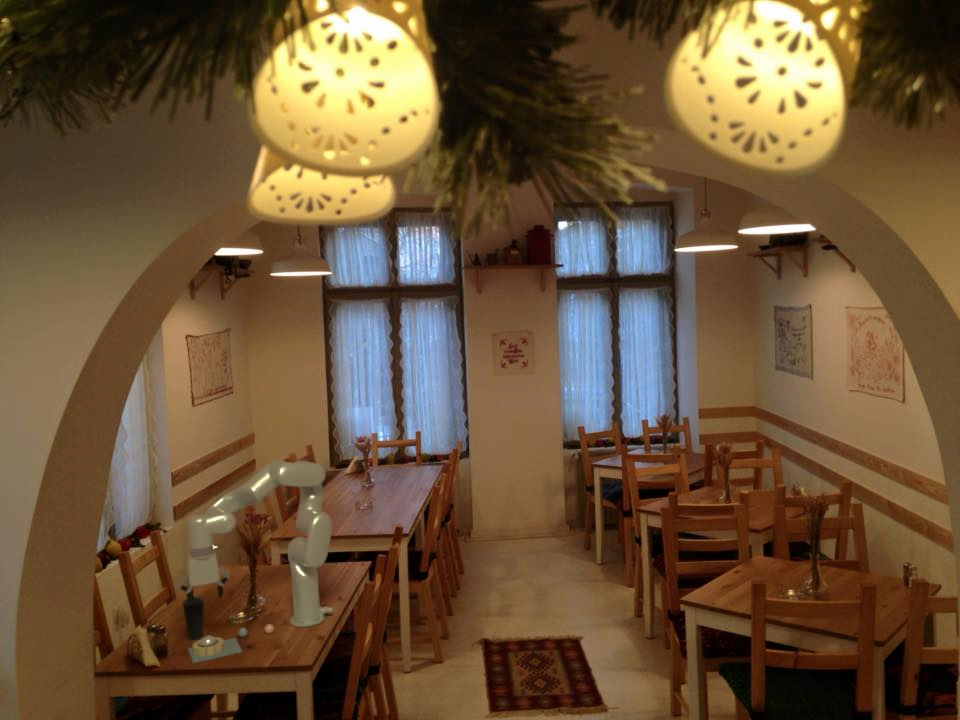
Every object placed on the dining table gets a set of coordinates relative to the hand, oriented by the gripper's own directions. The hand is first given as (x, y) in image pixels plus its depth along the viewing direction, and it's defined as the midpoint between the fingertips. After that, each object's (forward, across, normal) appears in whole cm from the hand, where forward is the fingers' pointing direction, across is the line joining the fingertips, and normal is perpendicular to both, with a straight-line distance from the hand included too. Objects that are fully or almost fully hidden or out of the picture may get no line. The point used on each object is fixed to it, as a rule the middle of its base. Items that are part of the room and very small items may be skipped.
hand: (205, 600), depth 285 cm
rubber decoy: (+17, -13, -8) cm, 22 cm away
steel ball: (+15, 0, 0) cm, 15 cm away
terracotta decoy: (+17, -22, -6) cm, 28 cm away
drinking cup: (+19, +2, -18) cm, 26 cm away
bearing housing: (+18, -2, 0) cm, 18 cm away
